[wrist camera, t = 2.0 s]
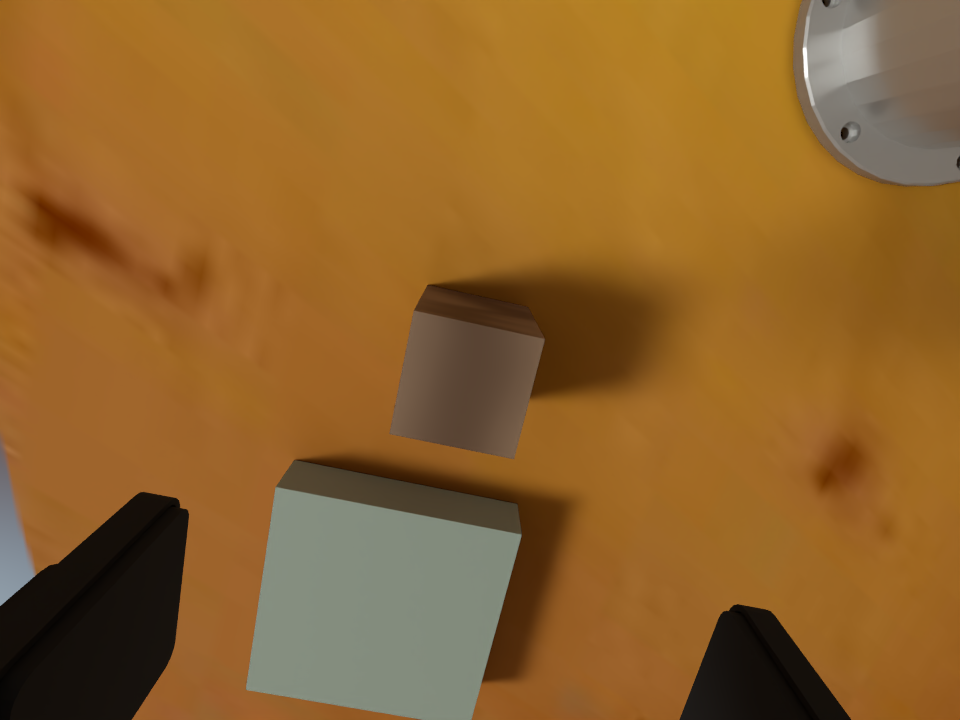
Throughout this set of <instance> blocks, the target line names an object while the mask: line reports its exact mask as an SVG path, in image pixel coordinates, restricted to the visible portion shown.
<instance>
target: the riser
mask: <svg viewBox="0 0 960 720" xmlns="http://www.w3.org/2000/svg"><path fill="white" fill-rule="evenodd" d="M521 536H522V532H521V525H520V518H519V512H518V505H517V504H515V503H510V502H505V501H500V500H495V499H490V498H485V497H480V496H475V495H470V494H464V493H459V492H454V491H449V490H444V489H439V488H434V487H429V486H424V485H419V484H414V483H409V482H404V481H398V480H393V479H388V478H383V477H378V476H373V475H368V474H363V473H358V472H353V471H348V470H343V469H338V468H332V467H327V466H322V465H317V464H312V463H307V462H302V461H297V460H294V461H293V463H292V464H291V466H290V467H289V469H288V470H287V471H286V473H285V474H284V476H283V477H282V479H281V480H280V482H279V483H278V485H277V486H276V489H275V496H274V503H273V509H272V516H271V523H270V530H269V536H268V543H267V550H266V557H265V564H264V570H263V577H262V584H261V591H260V598H259V604H258V611H257V618H256V625H255V632H254V638H253V645H252V652H251V659H250V666H249V672H248V679H247V686H246V690H250V691H256V692H262V693H268V694H274V695H280V696H286V697H292V698H298V699H304V700H310V701H315V702H321V703H327V704H333V705H339V706H345V707H351V708H357V709H363V710H369V711H375V712H380V713H386V714H392V715H398V716H404V717H410V718H416V719H422V720H471V719H472V715H473V712H474V708H475V704H476V701H477V697H478V693H479V690H480V686H481V682H482V679H483V675H484V671H485V668H486V664H487V660H488V657H489V653H490V649H491V646H492V642H493V638H494V635H495V631H496V628H497V624H498V620H499V617H500V613H501V609H502V606H503V602H504V598H505V595H506V591H507V587H508V584H509V580H510V576H511V573H512V569H513V565H514V562H515V558H516V554H517V551H518V547H519V543H520V540H521Z"/></svg>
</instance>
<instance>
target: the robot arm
mask: <svg viewBox="0 0 960 720" xmlns="http://www.w3.org/2000/svg"><path fill="white" fill-rule="evenodd" d="M824 1H825V6H824V5H823V2H822V0H802V3H801V5H800V9H799V14H798V20H797V25H796V30H795V35H794V56H793V70H794V76H795V82H796V89H797V95H798V98H799V101H800V104H801V107H802V109H803V112H804V115H805V118H806V121H807V123H808V124H809V126H810V127H811V129H812V131H813V132H814V134H815V135H816V137H817V139H818V140H819V142H820V143H821V145H822V146H823V147H824V148H825V149H826V150H827V151H828V152H829V153H830V154H831V155H832V156H833V157H834V158H835V159H836V160H837V161H838V162H840V163H841V164H843V165H844V166H846V167H847V168H849V169H851V170H852V171H854V172H855V173H857V174H858V175H861V176H864V177H866V178H869V179H872V180H874V181H877V182H880V183H884V184H892V185H899V186H935V185H941V184H947V183H953V182H959V181H960V0H824ZM841 130H842V131H843V137H842V138H841V136H840V135H841ZM188 520H189V513H188V510H187V509H182V508H180V503H179V500H178V499H177V498H173V497H167V496H162V495H157V494H151V493H146V492H140V493H139V494H137V495H136V496H135V497H133V498H132V499H131V500H130V501H129V502H128V503H127V504H125V505H124V506H123V507H122V508H121V509H120V510H119V511H117V512H116V513H115V514H114V515H113V516H112V517H111V518H109V519H108V520H107V521H106V522H105V523H104V524H103V525H101V526H100V527H99V528H98V529H97V530H96V531H95V532H94V533H92V534H91V535H90V536H89V537H88V538H87V539H86V540H84V541H83V542H82V543H81V544H80V545H79V546H78V547H76V548H75V549H74V550H73V551H72V552H71V553H70V554H68V555H67V556H66V557H65V558H64V559H63V560H62V561H61V562H59V563H58V564H54V565H50V566H48V567H47V568H45V569H44V570H42V571H41V572H39V573H38V574H37V575H36V576H35V577H34V578H32V579H31V580H30V581H29V582H28V583H27V584H26V585H24V586H23V587H22V588H21V589H20V590H18V591H17V592H16V593H15V594H14V595H13V596H12V597H10V598H9V599H8V600H7V601H6V602H5V603H4V604H2V605H1V606H0V720H132V718H133V717H134V715H135V714H136V712H137V711H138V709H139V708H140V706H141V705H142V703H143V702H144V700H145V698H146V697H147V695H148V694H149V692H150V691H151V689H152V688H153V686H154V685H155V683H156V682H157V680H158V679H159V677H160V676H161V674H162V672H163V671H164V669H165V668H166V666H167V664H168V662H169V660H170V658H171V655H172V652H173V649H174V645H175V638H176V629H177V620H178V611H179V602H180V593H181V584H182V575H183V566H184V556H185V547H186V538H187V529H188ZM680 720H851V719H850V717H849V716H848V715H847V713H846V712H845V711H844V709H843V708H842V706H841V705H840V704H839V702H838V701H837V700H836V698H835V697H834V696H833V694H832V693H831V691H830V690H829V689H828V687H827V686H826V685H825V683H824V682H823V681H822V679H821V678H820V677H819V675H818V674H817V672H816V671H815V670H814V668H813V667H812V666H811V664H810V663H809V662H808V660H807V659H806V658H805V656H804V655H803V653H802V652H801V651H800V649H799V648H798V647H797V645H796V644H795V643H794V641H793V640H792V638H791V637H790V636H789V634H788V633H787V632H786V630H785V629H784V628H783V626H782V625H781V624H780V622H779V621H778V619H777V618H776V617H775V615H774V614H773V613H772V612H771V611H768V610H765V609H760V608H755V607H749V606H744V605H739V604H737V605H734V606H733V607H731V608H730V610H729V611H724V612H723V613H722V614H721V615H720V617H719V619H718V622H717V624H716V627H715V629H714V632H713V635H712V637H711V640H710V642H709V645H708V648H707V650H706V653H705V655H704V658H703V660H702V663H701V666H700V668H699V671H698V673H697V676H696V679H695V681H694V684H693V686H692V689H691V692H690V694H689V697H688V699H687V702H686V704H685V707H684V710H683V712H682V715H681V717H680Z"/></svg>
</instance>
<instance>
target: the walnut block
mask: <svg viewBox="0 0 960 720" xmlns="http://www.w3.org/2000/svg"><path fill="white" fill-rule="evenodd" d="M544 341H545V338H544V336H543V334H542V332H541V331H540V329H539V327H538V325H537V323H536V321H535V319H534V317H533V315H532V314H531V312H530V310H529V308H528V307H526V306H521V305H517V304H512V303H508V302H503V301H499V300H494V299H490V298H485V297H481V296H476V295H472V294H467V293H463V292H458V291H454V290H449V289H445V288H440V287H436V286H431V285H427V287H426V289H425V291H424V293H423V295H422V296H421V298H420V300H419V302H418V304H417V306H416V308H415V310H414V313H413V318H412V323H411V328H410V333H409V338H408V343H407V348H406V353H405V358H404V363H403V368H402V374H401V379H400V384H399V389H398V394H397V399H396V404H395V409H394V414H393V419H392V424H391V429H390V434H392V435H397V436H402V437H407V438H412V439H417V440H422V441H427V442H432V443H437V444H442V445H447V446H452V447H457V448H462V449H467V450H471V451H476V452H481V453H486V454H491V455H496V456H501V457H506V458H511V459H514V457H515V453H516V449H517V445H518V441H519V438H520V434H521V430H522V426H523V422H524V418H525V414H526V411H527V407H528V403H529V399H530V395H531V391H532V387H533V384H534V380H535V376H536V372H537V368H538V364H539V360H540V356H541V353H542V349H543V345H544Z"/></svg>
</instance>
